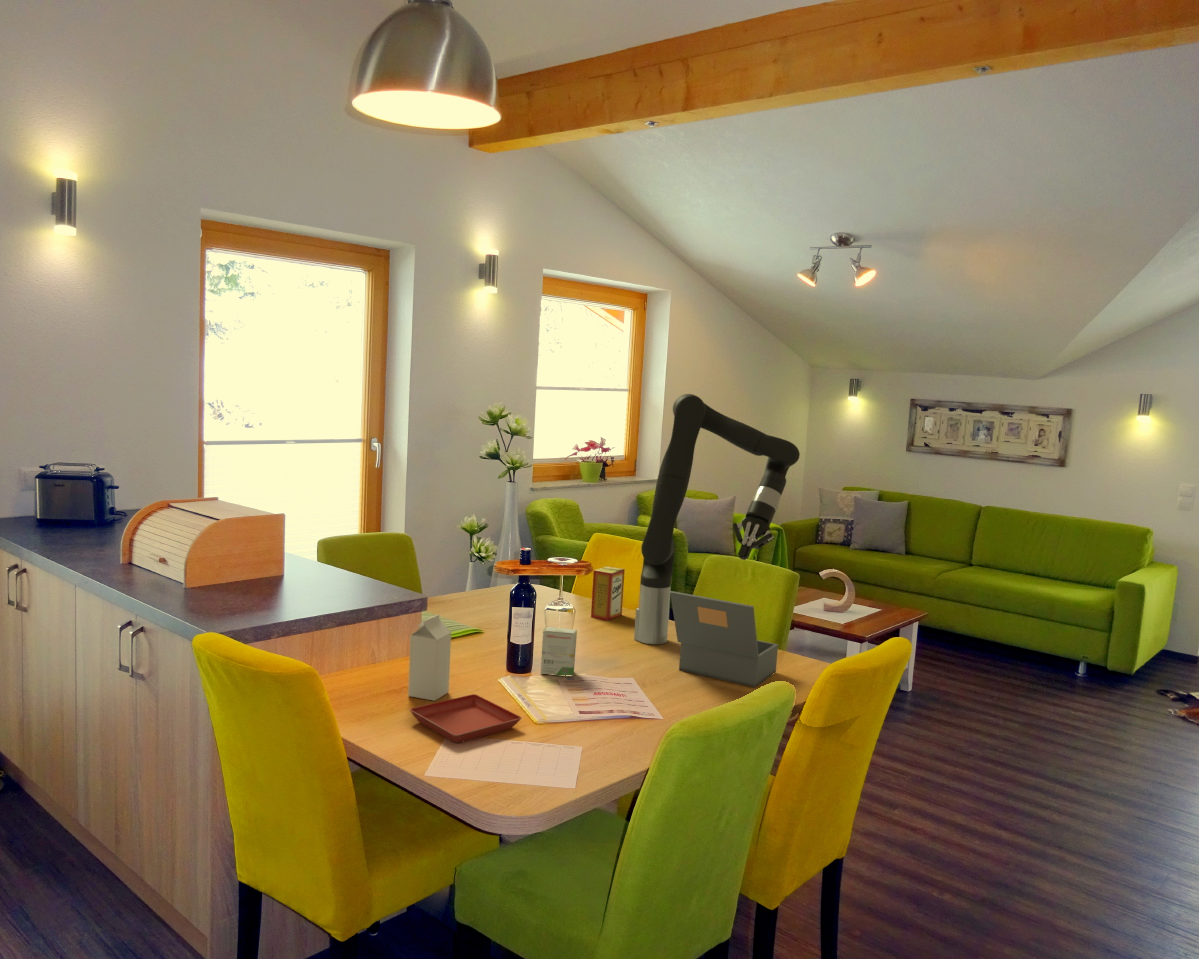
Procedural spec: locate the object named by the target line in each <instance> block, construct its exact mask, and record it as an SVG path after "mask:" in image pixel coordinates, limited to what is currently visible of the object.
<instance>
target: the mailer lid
mask: <svg viewBox="0 0 1199 959" xmlns="http://www.w3.org/2000/svg"><path fill="white" fill-rule="evenodd" d="M670 602H671V606H672V607H671V608H672V613H673V614H672V615H673V622H674V626H675V627H674V628H675V632H676V639H677V640H676V641H677V642H678V643H680V644H681V643H685V644H690V645H695V646H699V647H704V648H709V649H714V650H718V651H723V652H728V653H733V654H737V655H742V656H747V657H752V658H756V659H758V658H759V655H758V645H757V640H758V637H757V627H756V617H755V608H754V605H749V604H745V603H739V602H734V601H728V600H722V599H718V598H713V597H712V598H711V597H707V596H700V595H695V594H690V593H683V592H678V591H672V590H671V591H670Z"/></svg>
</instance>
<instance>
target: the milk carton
mask: <svg viewBox="0 0 1199 959" xmlns="http://www.w3.org/2000/svg"><path fill="white" fill-rule="evenodd" d="M417 627H419V628H418V629H417V630H415V631H414V632H413V633H411V635H410V639H409V641H410V642H409V644H410V645H409V664H408V665H409V668H408V670H409V671H408V692H407V695H408V697H411V698H412V697H413V698H417V699H421V700H423V699H424V700H427V701H433V702H435V701H437V700H439V699H441V697H443V696H445V695H447V694H448V693H449V690H450V671H451V670H450V668H451V667H450V666H451V646H452V632H451V630H450V629H449V628H448V627H447V626H446V624H444V623H443V621H442V620H441V619H440V614H439V613H438V614H436V615H434V616H431V617H429V618H426V619H425V620H423V621H422V622H420V623H419V624H418V625H417Z"/></svg>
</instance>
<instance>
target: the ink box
mask: <svg viewBox="0 0 1199 959" xmlns="http://www.w3.org/2000/svg"><path fill="white" fill-rule="evenodd" d="M577 635H578V629H572V628H563V627H552V626H546V627H545V628H544V629H543V631H542V642H541V643H542V644H541V657H540V659H541V662H540V675H541V674H554V675H565V676H566V675H573V676H574V673H575V662H576V651H577V650H576V649H577Z"/></svg>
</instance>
